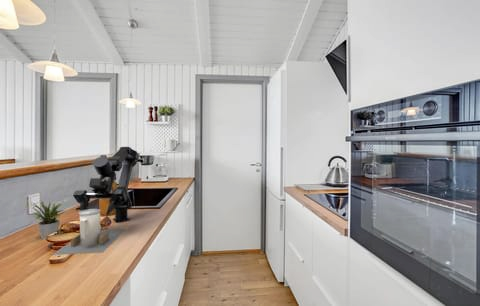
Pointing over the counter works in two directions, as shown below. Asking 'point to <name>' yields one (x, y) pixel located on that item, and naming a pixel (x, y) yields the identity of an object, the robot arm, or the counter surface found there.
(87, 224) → the white mug
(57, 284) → the counter surface
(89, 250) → the holder
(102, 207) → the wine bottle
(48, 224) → the house plant
